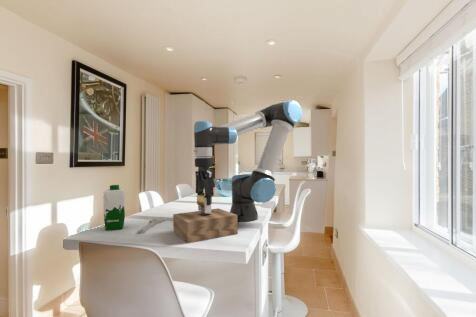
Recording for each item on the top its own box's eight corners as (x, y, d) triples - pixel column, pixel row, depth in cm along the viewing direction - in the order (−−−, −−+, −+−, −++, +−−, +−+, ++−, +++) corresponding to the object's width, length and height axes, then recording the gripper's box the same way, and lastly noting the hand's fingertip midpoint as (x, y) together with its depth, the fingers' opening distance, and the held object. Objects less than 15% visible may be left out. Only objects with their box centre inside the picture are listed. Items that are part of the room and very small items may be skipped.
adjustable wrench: (142, 235, 120) (142, 231, 120) (128, 235, 121) (128, 230, 121) (166, 221, 145) (166, 217, 145) (154, 220, 146) (154, 217, 146)
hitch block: (218, 225, 132) (218, 208, 132) (237, 233, 117) (237, 215, 117) (173, 232, 121) (173, 214, 121) (188, 243, 106) (187, 222, 106)
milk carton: (126, 225, 136) (125, 184, 136) (123, 229, 127) (122, 186, 127) (106, 226, 134) (105, 185, 133) (102, 231, 125) (101, 187, 125)
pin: (208, 218, 123) (208, 193, 123) (214, 221, 118) (214, 195, 118) (195, 220, 120) (194, 195, 120) (200, 223, 115) (200, 197, 115)
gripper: (187, 157, 125) (188, 208, 125) (204, 157, 109) (205, 216, 109) (202, 157, 129) (203, 207, 129) (221, 157, 112) (222, 214, 113)
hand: (204, 211), depth 119 cm, fingers closed on pin, 6 cm apart
